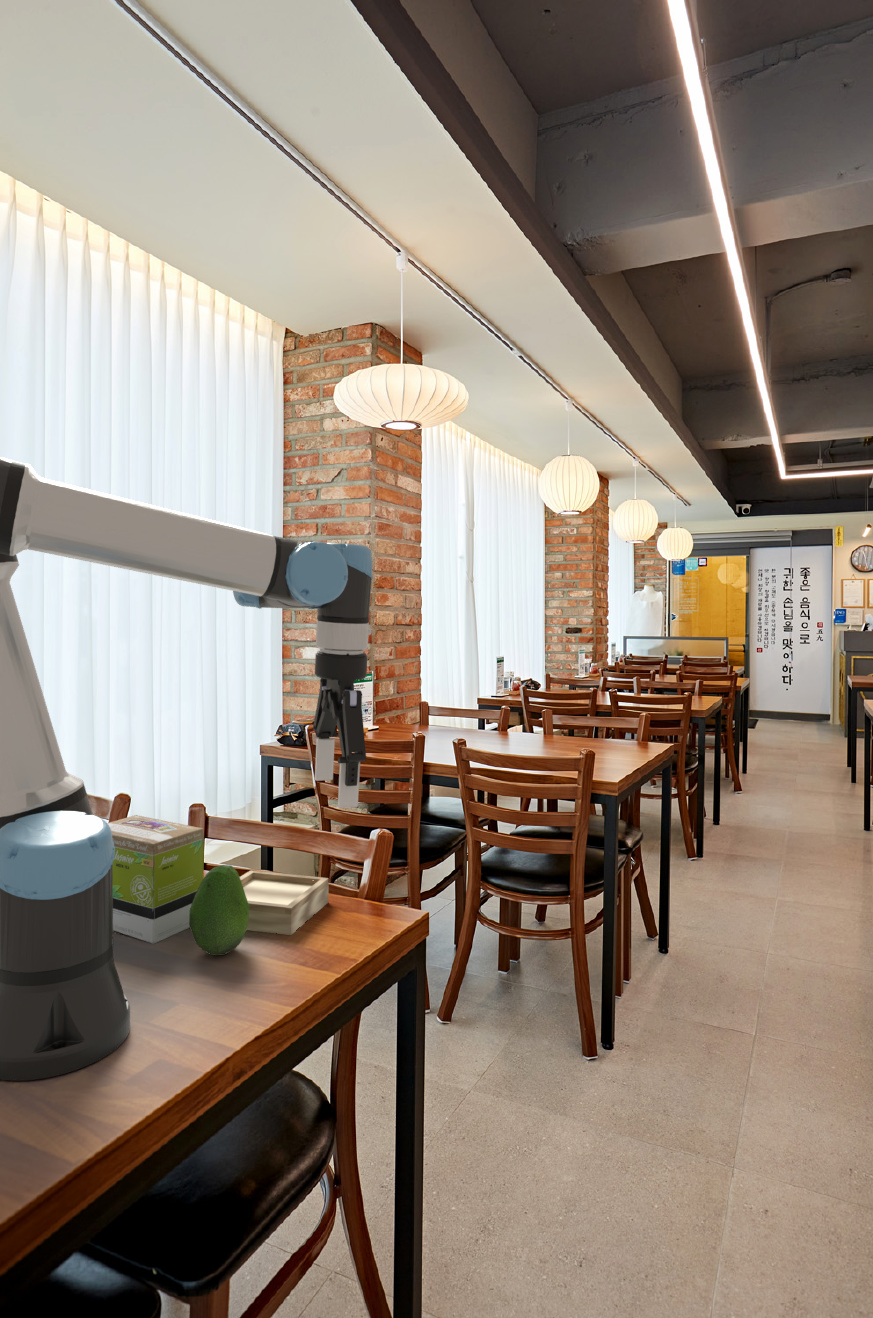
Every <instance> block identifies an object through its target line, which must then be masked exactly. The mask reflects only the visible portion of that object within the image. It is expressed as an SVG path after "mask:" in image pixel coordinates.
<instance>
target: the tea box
mask: <svg viewBox="0 0 873 1318" xmlns="http://www.w3.org/2000/svg"><path fill="white" fill-rule="evenodd" d="M106 823H107V824H108V825H109V827H110V829H111V832H112V840H113V843H114V847H115V856H114V859H113V932H117V933H120V934H123V935H126V936H128V937H133V938H135V939H138V940H141V941H144V942H147V943H149V944H151V945H154V944H156V943H158V942H161V941H164V940H166V939H168V938H170V937H172V936H174V935H177V934H179V933H181V932H184V931H185V930H187V929H190V926H189V915H190V908H191V905H192V902H193V900H194V897H195V894H196V892H197V890H198V888H199V886H200V884H201V882H202V880H203V879H204V863H205V862H204V857H205V856H204V849H205V847H204V838H205V837H204V833H205V832H204V829H205V828H203V827H198V826H197V827H196V826H193V825H188V824H182V823H177V822H173V821H167V820H162V819H158V818H152V817H147V816H142V815H138V814H135V815H131V816H128V817H125V818H120V819H118V820H117V819H116V820H114V821H110V822H106Z"/></svg>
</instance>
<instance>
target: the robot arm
mask: <svg viewBox="0 0 873 1318" xmlns="http://www.w3.org/2000/svg"><path fill="white" fill-rule="evenodd" d="M27 550H29V551H35V552H39V553H44V554H50V555H53V556H60V557H64V558H69V559H75V560H80V561H84V562H90V563H93V564H99V565H105V566H108V567H114V568H119V569H123V570H128V571H132V572H139V573H144V574H148V575H152V576H159V577H163V578H169V579H173V580H177V581H178V580H179V581H183V582H186V583H187V582H188V583H193V584H197V585H198V584H199V585H201V586H202V585H203V586H208V587H212V588H213V587H214V588H217V589H222V590H228V591H232V593H233V599H234V600H235V602H236V603H237V604H238V605H239V606H241V607H246V608H247V607H249V608H256V609H262V608H268V609H309V610H317V616H316V631H315V646H316V648H318V649H319V650H317V652H316V653H315V659H314V660H315V661H314V663H315V664H314V675H315V676H316V677H317V678H320V680H319V682H320V684H319V693H318V698H317V703H316V704H317V705H316V711H315V715H314V720H313V724H312V728H313V731H314V732H315V737H316V741H315V742H316V744H315V763H314V766H315V770H314V780H315V781H317V782H318V781H333V780H334V765H335V764H334V763H335V762H334V761H335V742H336V741H335V738H337V737H338V739H339V745H340V752H341V756H339V758H338V759H337V764H339V770H338V771H339V776H338V794H337V795H338V797H337V808H339V809H345V808H357V807H358V806H359V793H360V792H359V791H360V789H359V788H360V773H361V772H360V771H361V763H362V762H366V760H367V753H366V742H365V741H366V740H365V728H364V720H363V719H364V717H363V704H362V703H363V701H362V700H363V693H362V690H355V683H354V682H355V681H360V680H364V679H365V678H366V677H367V673H368V671H367V670H368V669H367V668H368V655H367V653H365V652H364V651H366V650H367V649H368V648H369V647H368V646H369V645H368V644H369V636H370V635H372V633H373V630H372V629H371V628H369V626H370V607H371V598H372V597H371V595H372V583H373V577H374V576H373V557H372V551H371V549H370V548H369V546H366V545H364V544H353V543H339V542H338V543H337V542H324V541H317V540H316V541H315V540H310V541H309V540H307V541H304V542H302V541H298V540H294V539H289V538H285V537H281V536H275V535H272V534H269V533H265V532H262V531H257V530H253V529H248V528H245V527H241V526H237V525H232V524H229V523H224V522H220V521H216V520H212V519H208V518H206V517H205V518H204V517H200V516H198V515H193V514H189V513H185V512H180V511H176V510H171V509H168V508H163V507H160V506H156V505H152V504H148V503H144V502H141V501H135V500H133V499H128V498H124V497H120V496H116V495H112V494H108V493H104V492H100V491H96V490H91V489H88V488H83V487H79V486H76V485H72V484H67V483H64V482H61V481H55V480H51V479H49V478H48V479H47V478H44V477H41V476H40V475H38V473H36V471H35V469H34V468H33V467H32V466H31V464H29V463H24V462H20V461H18V460H17V461H16V460H12V459H8V458H6V457H1V456H0V1080H2V1081H34V1080H40V1079H41V1080H42V1079H48V1078H52V1077H56V1076H60V1075H64V1074H67V1073H71V1072H74V1071H77V1070H79V1069H83V1068H85V1067H87V1066H89V1065H91V1064H95V1063H96V1062H99V1060H101V1059H103V1058H105V1057H106V1056H109V1054H111V1053H112V1052H114V1051H115V1050H117V1048H118V1047H120V1046H121V1045H122V1044H123V1042H124V1041H125V1040H126V1039H127V1037H128V1036H129V1034H130V1031H131V1030H130V1029H131V1006H130V1003H129V1000H128V998H127V996H126V995H125V993H124V990H123V989H124V988H123V986H122V983H121V979H120V976H119V974H118V971H117V967H116V965H115V961H114V931H113V859H114V856H115V847H114V843H113V840H112V832H111V829H110V827H109V825H108V824H107V823H108V822H107V821H106V820H105V819H103V818H102V817H100V816H97V815H94V812H93V810H92V807H91V803H90V800H89V797H88V793H87V790H86V786H85V783H84V781H83V779H81V778H80V777H77V776H75V775H73V774H71V773H69V772H67V770H66V766H65V764H64V760H63V755H62V753H61V749H60V746H59V743H58V741H57V736H56V732H55V729H54V727H53V723H52V719H51V717H50V713H49V709H48V705H47V704H46V700H45V697H44V693H43V690H42V687H41V686H42V685H41V682H40V680H39V677H38V673H37V669H36V666H35V662H34V660H33V657H32V656H33V655H32V653H31V650H30V649H31V648H30V646H29V642H28V639H27V636H26V632H25V629H24V625H23V622H22V620H21V619H22V618H21V614H20V613H19V610H18V609H19V608H18V605H17V603H16V599H15V596H14V592H13V588H12V585H11V583H10V582H11V578H12V577H13V575H14V574H15V573H16V571H17V569H18V568H19V566H20V563H19V559H18V554H19V553H21V552H23V551H27ZM336 728H337V730H336ZM337 731H338V735H337Z"/></svg>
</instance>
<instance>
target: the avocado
mask: <svg viewBox="0 0 873 1318" xmlns="http://www.w3.org/2000/svg"><path fill="white" fill-rule="evenodd" d="M240 877H241V876H240V875H239V872H238V871H237V870H236V869H235V868H234V867H233V865H231V864H230V865H228V864H227V865H226V864H225V865H224V864H221V865H219V866H215V867H212V869H210V870H209V871H208V872H207V873H206V874H205V876H203V880H202V882H201V884H200V886H199V888H198V890H197V892H196V894H195V897H194V900H193V902H192V905H191V908H190V915H189V926H190V928H189V930H190V931H191V935H192V937H193V940H194V942H195V944H196V945H197V946H198V948H199V949H201V951H203V952H205V953H207V954H209V955H211V956H221V955H222V956H223V955H226V954H228V953H230V952H231V951H232V950H234V949H236V948H237V947H238V946H239V945H240V943H242V941H243V939H244V938H245V935H246V932H247V930H246V928H247V924H248V921H249V904H248V901H247V898H246V895H245V892H244V889H243V886H242V883H241V880H240Z"/></svg>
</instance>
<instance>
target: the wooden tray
mask: <svg viewBox="0 0 873 1318" xmlns="http://www.w3.org/2000/svg"><path fill="white" fill-rule="evenodd" d="M239 877H240V880H241V883H242V886H243V889H244V892H245V895H246V898H247V901H248V904H249V921H248V924H247V928H246V931H252V932H253V931H254V932H263V933H268V934H269V933H271V934H276V933H277V934H278V935H279V934H280V935H287V936H292V935H293V934H295V932H297V931H298V930H299V929H300V928H301V927H302V926H303V925H305V924H306V923H307V922H308V921H309V920H310V919H312V918H313V917H314V916H315V915H316V914H317V913H318V912H319V911H321V909H323V908H324V907H325V906H326V905H328V903H329V883H330V882H329V878H328V877H322V876H321V877H319V876H312V875H311V876H310V875H300V874H292V873H281V872H279V873H278V872H271V871H259V870H251V869H250V870H249V871H247V872H245V873H244V874H242V875H241V876H239ZM312 880H314V881H312ZM314 914H315V915H314ZM313 915H314V916H313ZM307 920H308V921H307ZM306 921H307V922H306ZM305 922H306V923H305ZM299 927H300V928H299ZM298 928H299V929H298ZM297 929H298V930H297ZM296 930H297V931H296Z"/></svg>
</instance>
